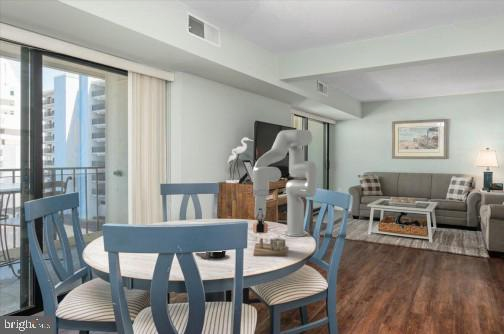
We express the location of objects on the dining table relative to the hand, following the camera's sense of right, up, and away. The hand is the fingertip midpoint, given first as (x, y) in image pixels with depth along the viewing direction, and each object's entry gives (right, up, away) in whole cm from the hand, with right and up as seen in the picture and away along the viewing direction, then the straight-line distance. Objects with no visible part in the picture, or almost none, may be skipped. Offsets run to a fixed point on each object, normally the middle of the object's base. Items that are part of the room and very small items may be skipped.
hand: (260, 230), depth 163 cm
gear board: (+5, -10, 0) cm, 11 cm away
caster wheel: (-22, -10, -9) cm, 26 cm away
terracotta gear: (0, -1, 0) cm, 1 cm away
